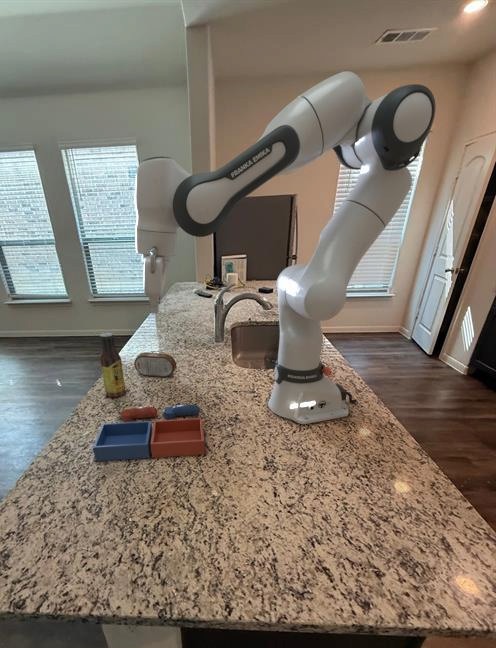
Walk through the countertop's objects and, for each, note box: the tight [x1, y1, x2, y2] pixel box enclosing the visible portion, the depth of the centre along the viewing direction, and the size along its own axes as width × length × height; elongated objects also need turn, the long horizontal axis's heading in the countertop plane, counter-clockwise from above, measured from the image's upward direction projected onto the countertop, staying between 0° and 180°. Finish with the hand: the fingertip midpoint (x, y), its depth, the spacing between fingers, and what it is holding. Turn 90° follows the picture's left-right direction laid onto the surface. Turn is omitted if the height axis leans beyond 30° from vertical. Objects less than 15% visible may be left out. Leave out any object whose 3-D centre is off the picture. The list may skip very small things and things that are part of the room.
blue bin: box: [92, 420, 153, 462], centre depth 76 cm, size 12×10×4 cm
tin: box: [133, 352, 177, 378], centre depth 111 cm, size 15×3×8 cm, turn 80°
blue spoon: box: [163, 403, 201, 420], centre depth 89 cm, size 10×4×3 cm, turn 94°
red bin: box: [150, 417, 206, 459], centre depth 77 cm, size 12×10×4 cm
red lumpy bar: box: [120, 406, 159, 422], centre depth 88 cm, size 10×4×3 cm, turn 94°
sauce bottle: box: [99, 332, 126, 398], centre depth 97 cm, size 6×6×20 cm
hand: (155, 307), depth 76 cm, fingers open, 8 cm apart
